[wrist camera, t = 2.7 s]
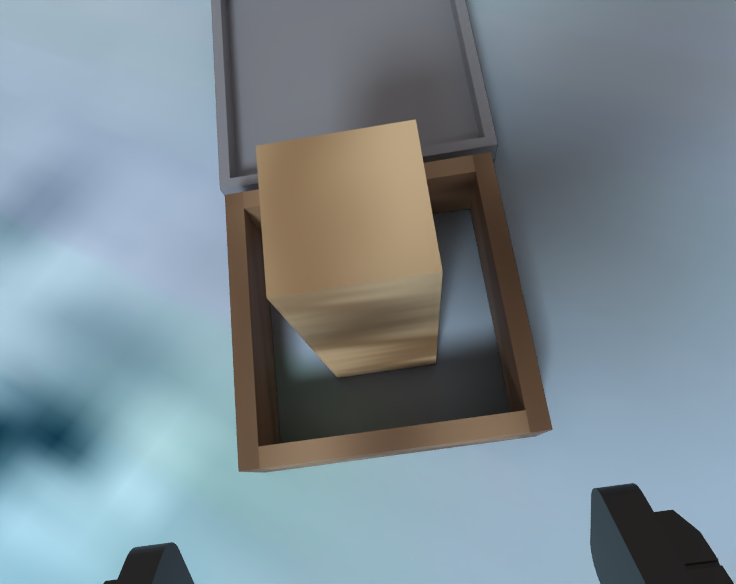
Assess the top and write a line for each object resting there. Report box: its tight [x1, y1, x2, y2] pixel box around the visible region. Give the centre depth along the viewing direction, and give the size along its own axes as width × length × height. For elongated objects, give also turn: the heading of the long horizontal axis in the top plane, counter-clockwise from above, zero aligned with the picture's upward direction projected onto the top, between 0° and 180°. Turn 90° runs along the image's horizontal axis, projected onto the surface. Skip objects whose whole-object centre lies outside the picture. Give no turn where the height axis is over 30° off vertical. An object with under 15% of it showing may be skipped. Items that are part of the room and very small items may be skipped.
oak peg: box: [256, 119, 443, 378], centre depth 21 cm, size 4×4×12 cm
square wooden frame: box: [225, 152, 552, 472], centre depth 25 cm, size 12×12×4 cm
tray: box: [211, 0, 498, 196], centre depth 30 cm, size 13×13×2 cm
